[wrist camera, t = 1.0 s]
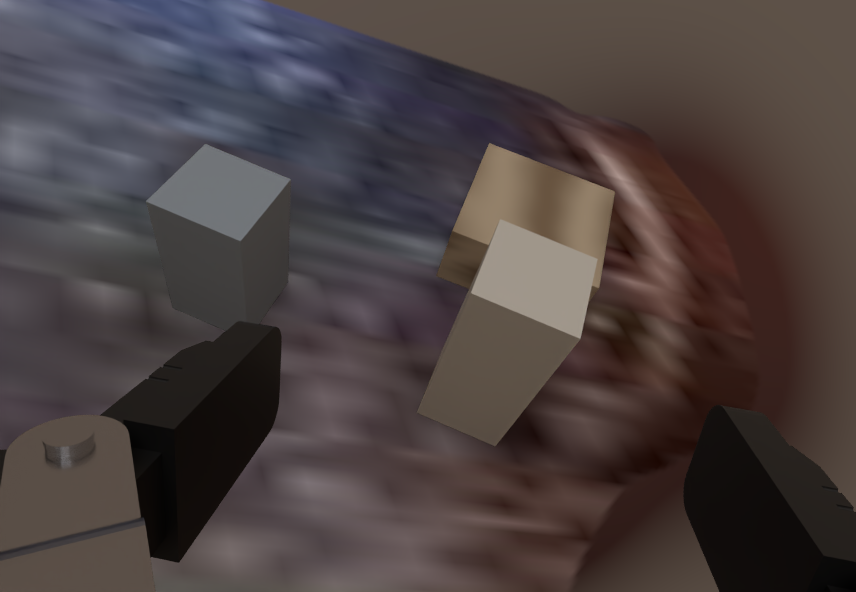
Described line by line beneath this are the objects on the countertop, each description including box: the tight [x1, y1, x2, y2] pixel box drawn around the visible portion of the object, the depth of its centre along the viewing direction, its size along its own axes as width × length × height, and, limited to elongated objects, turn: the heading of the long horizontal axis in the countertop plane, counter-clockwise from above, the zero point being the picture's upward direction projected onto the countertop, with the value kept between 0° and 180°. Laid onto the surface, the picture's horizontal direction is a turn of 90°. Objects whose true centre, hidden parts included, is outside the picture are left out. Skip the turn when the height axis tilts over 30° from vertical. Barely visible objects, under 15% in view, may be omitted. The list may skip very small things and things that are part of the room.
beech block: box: [436, 143, 615, 302], centre depth 41 cm, size 10×10×5 cm
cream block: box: [417, 219, 598, 446], centre depth 30 cm, size 5×5×12 cm
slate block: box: [146, 144, 291, 331], centre depth 32 cm, size 5×5×9 cm
